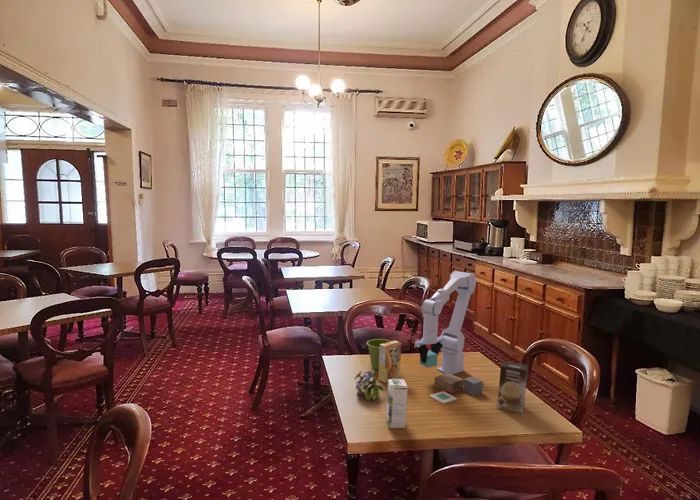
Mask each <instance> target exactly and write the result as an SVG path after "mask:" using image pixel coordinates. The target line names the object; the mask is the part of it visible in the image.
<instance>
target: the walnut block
mask: <svg viewBox="0 0 700 500" xmlns="http://www.w3.org/2000/svg"><path fill="white" fill-rule="evenodd" d="M433 385H434V386H433V387H435V388H437V389H440V390H442V391H444V392H446V393H448V394H452V393H455V392H456V391H459V390H462V389H463V388H464V379H463V378H461V377H459V376H457V375H455V374H449V373H443V374H439V375H437V376H434V383H433Z"/></svg>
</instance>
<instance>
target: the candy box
mask: <svg viewBox="0 0 700 500" xmlns="http://www.w3.org/2000/svg"><path fill="white" fill-rule="evenodd" d="M390 341H391V342H387V343H383V344H380V352H379V370H378V375H377V377H378V378H377V379H378V381H380V382H382V383H388V379H401V378H400V375H401V358H402V357H401V355H402V342H400V341H397V340H390Z"/></svg>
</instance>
